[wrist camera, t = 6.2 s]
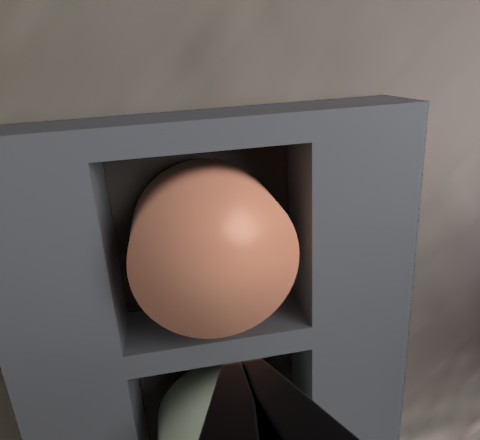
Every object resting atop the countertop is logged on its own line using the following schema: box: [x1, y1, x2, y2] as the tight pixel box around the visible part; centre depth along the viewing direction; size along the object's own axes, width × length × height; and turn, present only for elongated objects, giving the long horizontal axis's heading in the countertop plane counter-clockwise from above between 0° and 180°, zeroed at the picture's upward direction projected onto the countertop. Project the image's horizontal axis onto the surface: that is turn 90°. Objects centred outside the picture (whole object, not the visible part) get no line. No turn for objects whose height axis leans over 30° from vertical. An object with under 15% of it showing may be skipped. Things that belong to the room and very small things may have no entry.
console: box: [0, 95, 429, 440], centre depth 19 cm, size 15×25×3 cm, turn 3°
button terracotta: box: [126, 158, 300, 339], centre depth 16 cm, size 6×6×3 cm
